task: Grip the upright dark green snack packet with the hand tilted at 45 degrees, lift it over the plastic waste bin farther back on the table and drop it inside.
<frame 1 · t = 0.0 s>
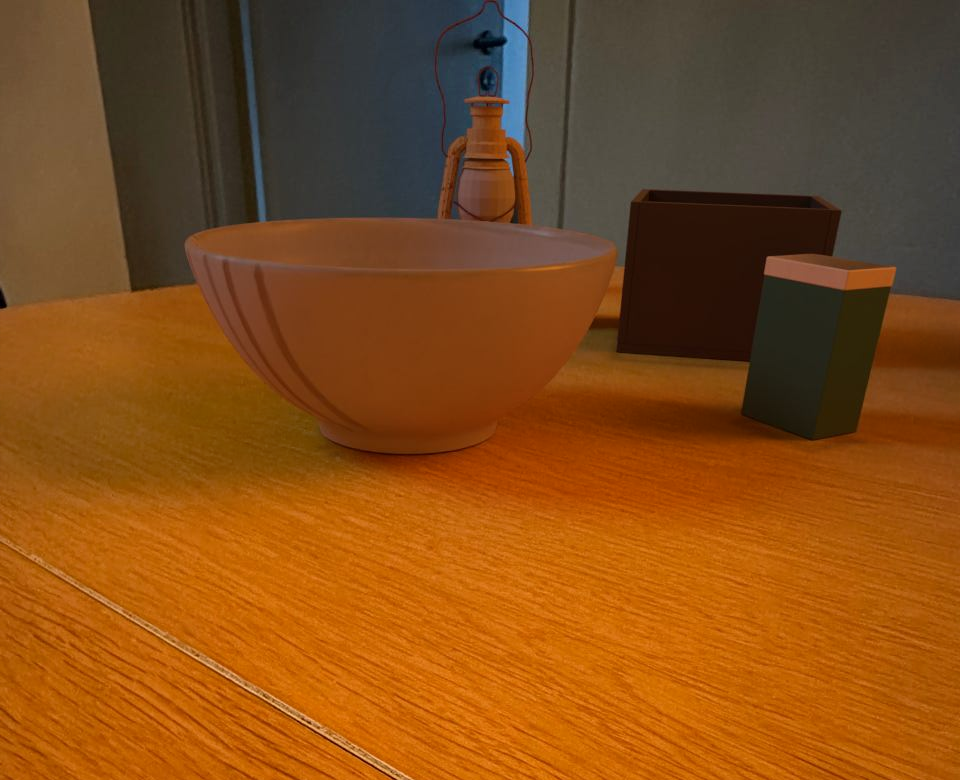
decorative bowl: (408, 429, 63), on the table
packet: (797, 422, 66), on the table
waste bin: (710, 339, 90), on the table
lantern: (482, 292, 113), on the table
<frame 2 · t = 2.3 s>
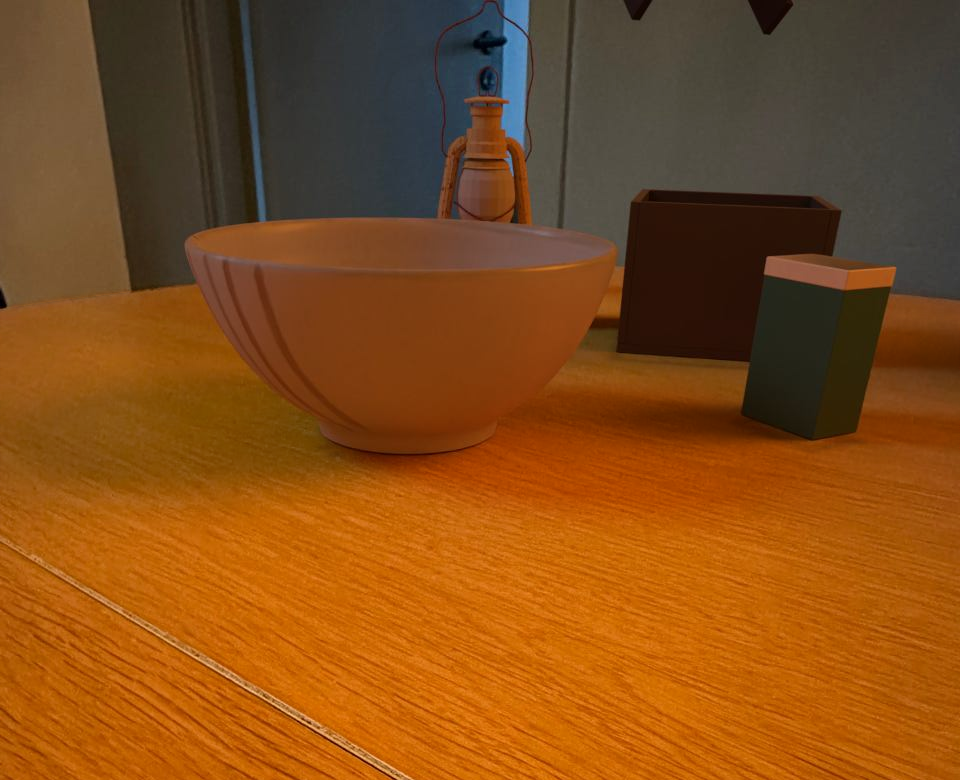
hand: (715, 12, 67), 26 cm above the table, tool tilted 45°, fingers open, 13 cm apart
nothing on the table moved.
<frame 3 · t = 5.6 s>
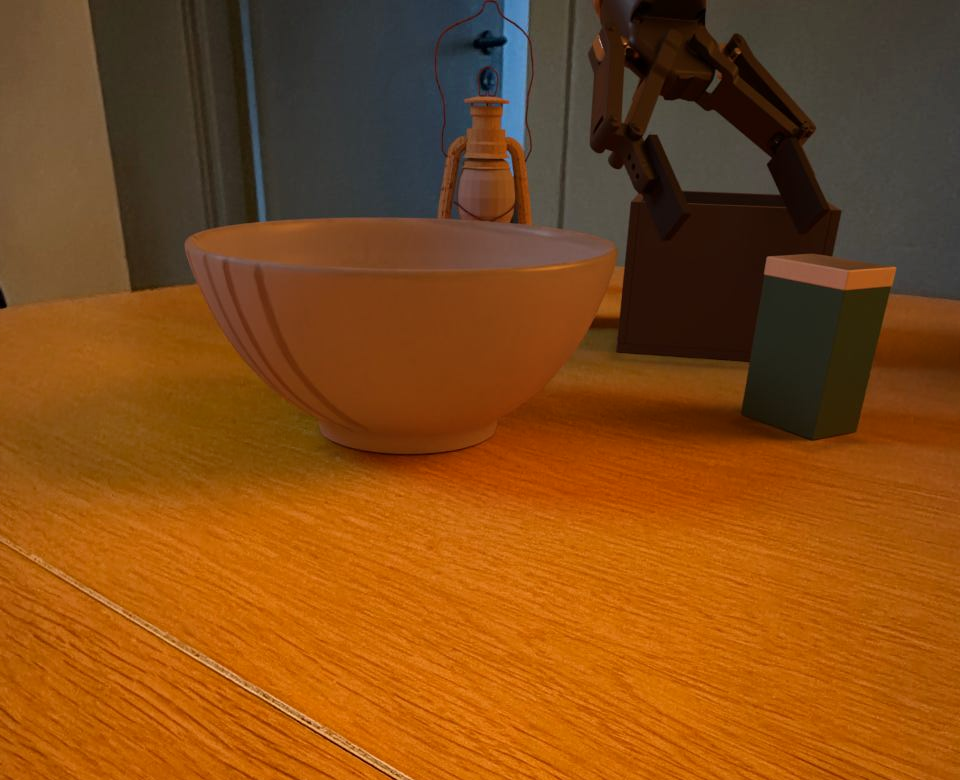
hand: (749, 225, 65), 12 cm above the table, tool tilted 45°, fingers open, 13 cm apart
nothing on the table moved.
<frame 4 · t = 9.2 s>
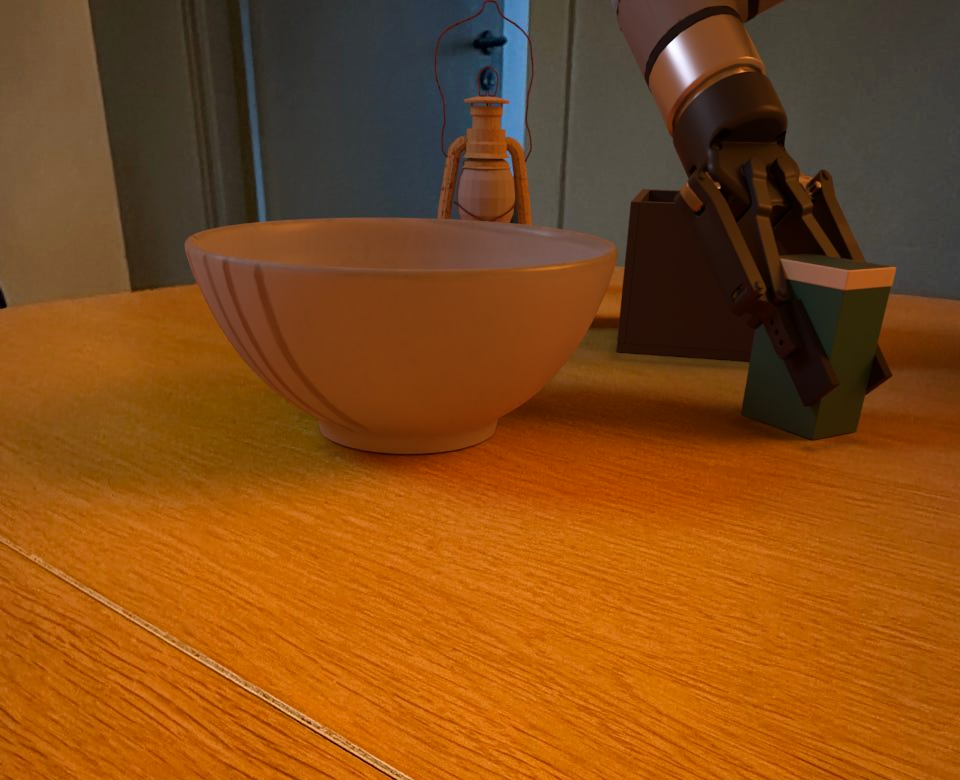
hand: (848, 390, 61), 3 cm above the table, tool tilted 45°, fingers closed on packet, 4 cm apart
packet: (797, 422, 66), on the table, touching gripper
everything else where it was.
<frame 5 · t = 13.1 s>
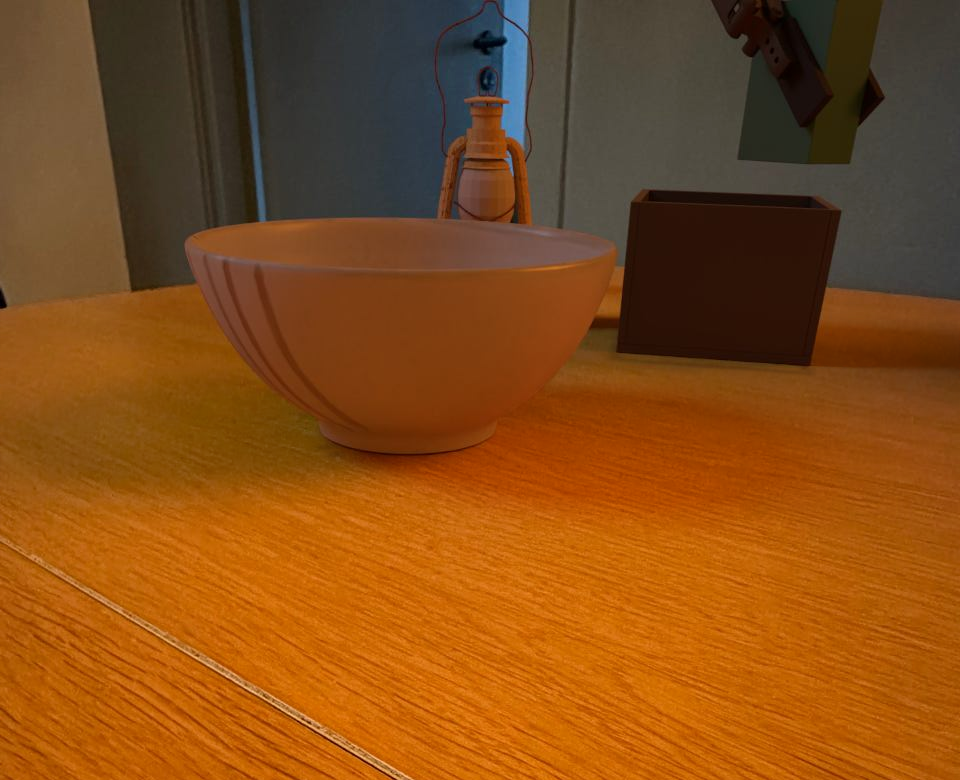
hand: (842, 111, 63), 20 cm above the table, tool tilted 45°, fingers closed on packet, 4 cm apart
packet: (792, 161, 67), point 16 cm above the table, touching gripper
everything else where it was.
when the fingers open (16 cm above the table, at t = 17.5 s): packet drops 12 cm, resting on waste bin.
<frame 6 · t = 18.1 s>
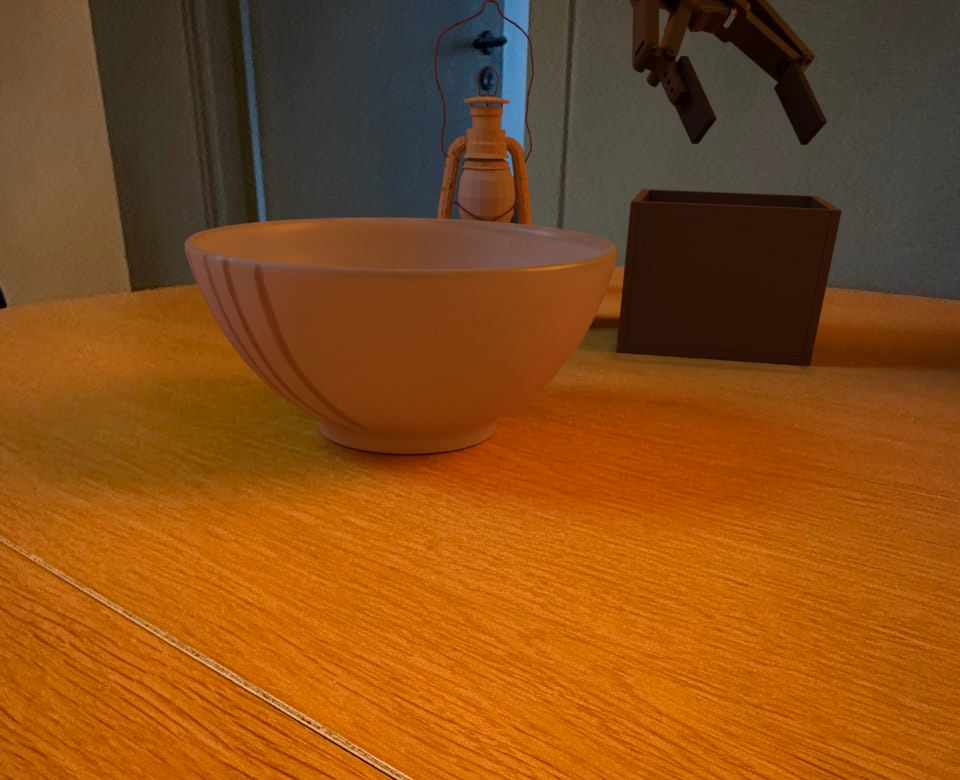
hand: (761, 133, 79), 18 cm above the table, tool tilted 45°, fingers open, 13 cm apart
packet: (711, 331, 90), point 1 cm above the table, touching waste bin
everything else where it was.
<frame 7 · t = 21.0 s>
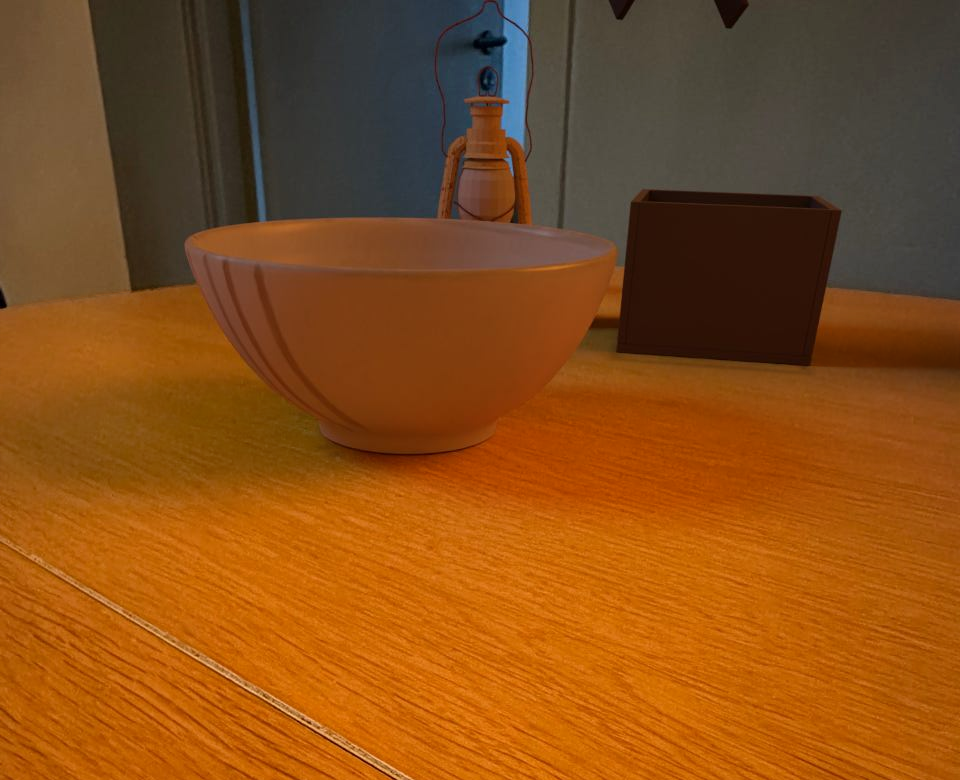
hand: (684, 12, 84), 28 cm above the table, tool tilted 40°, fingers open, 13 cm apart
nothing on the table moved.
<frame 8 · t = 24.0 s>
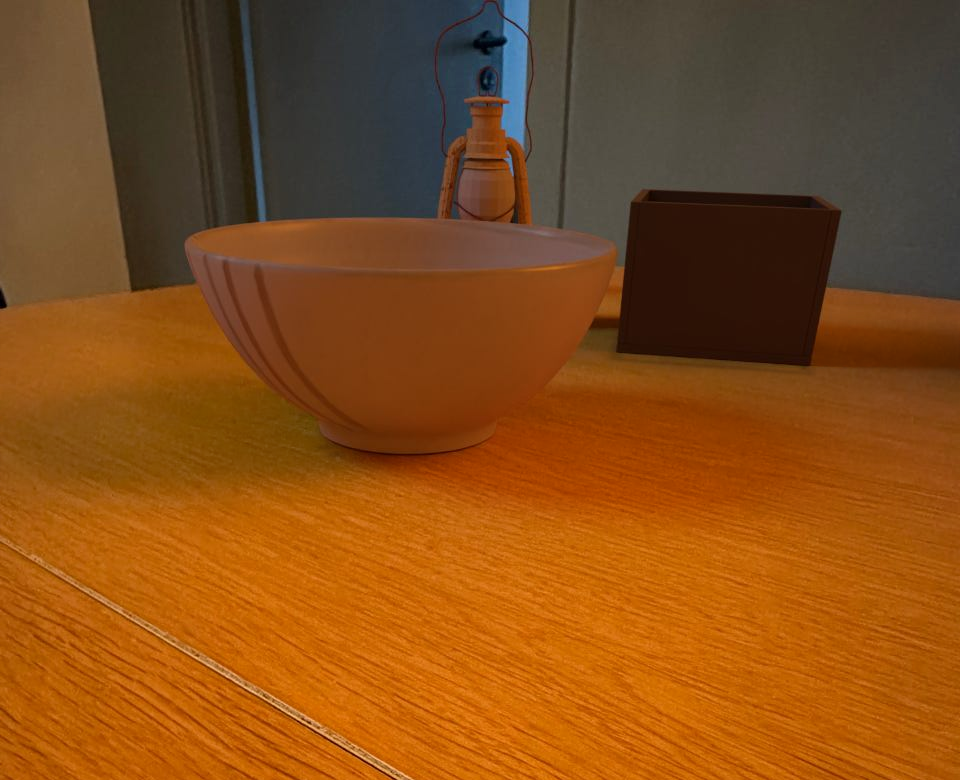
nothing on the table moved.
at the end: packet inside the target area in the waste bin (0.0 cm from its centre), point 0.8 cm above the waste bin's base; the gripper is holding nothing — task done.
